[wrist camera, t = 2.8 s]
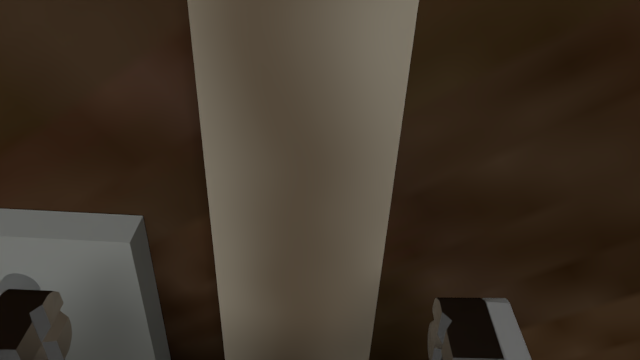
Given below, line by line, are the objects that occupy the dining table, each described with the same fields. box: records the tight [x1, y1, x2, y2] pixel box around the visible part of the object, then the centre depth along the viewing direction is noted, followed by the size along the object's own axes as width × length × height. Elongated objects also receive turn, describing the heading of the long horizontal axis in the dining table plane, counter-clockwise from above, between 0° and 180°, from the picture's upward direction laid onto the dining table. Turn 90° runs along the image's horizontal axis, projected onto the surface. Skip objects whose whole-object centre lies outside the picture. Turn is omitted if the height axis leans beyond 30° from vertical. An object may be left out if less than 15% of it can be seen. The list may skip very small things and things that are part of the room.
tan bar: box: [187, 0, 419, 360], centre depth 16 cm, size 5×16×4 cm, turn 178°
